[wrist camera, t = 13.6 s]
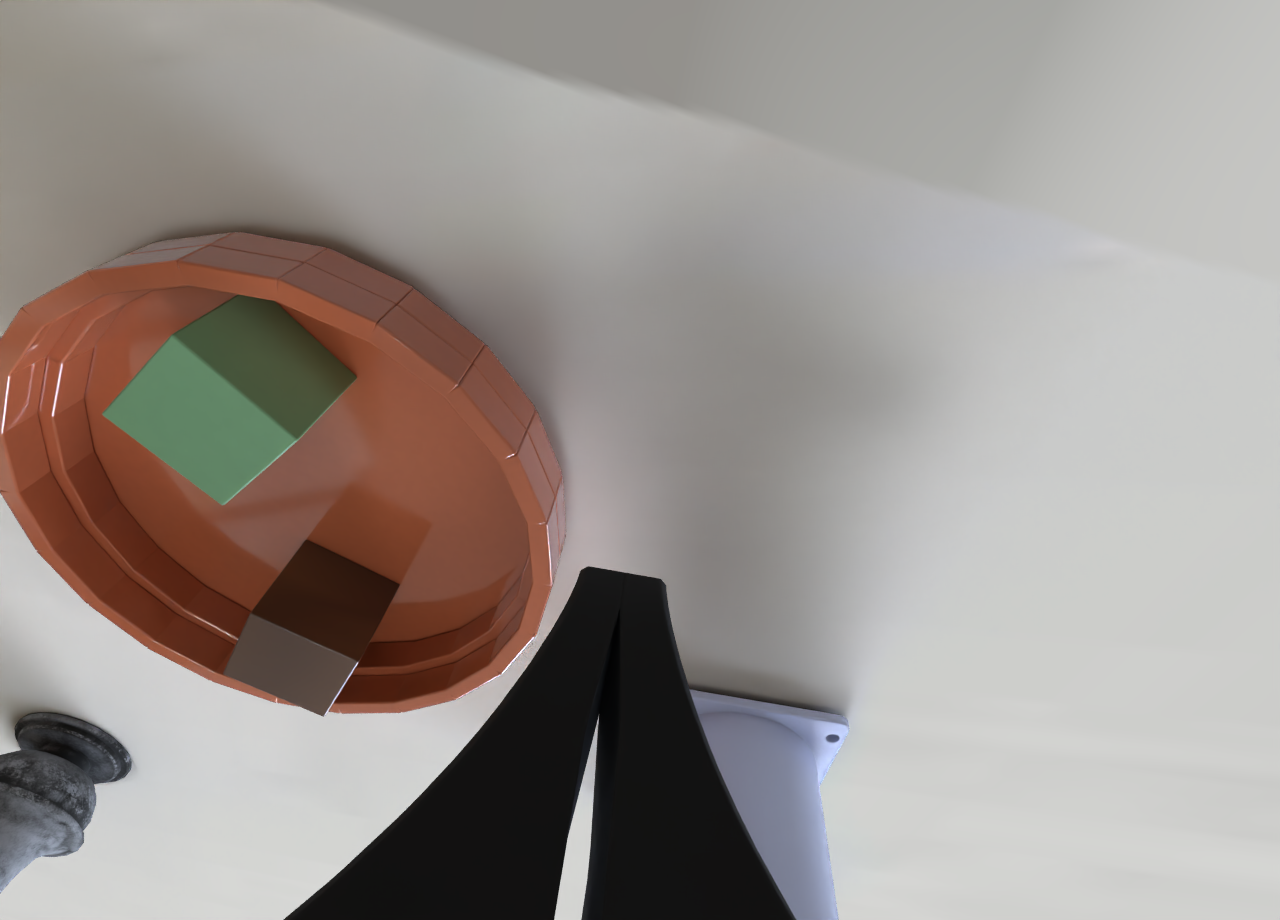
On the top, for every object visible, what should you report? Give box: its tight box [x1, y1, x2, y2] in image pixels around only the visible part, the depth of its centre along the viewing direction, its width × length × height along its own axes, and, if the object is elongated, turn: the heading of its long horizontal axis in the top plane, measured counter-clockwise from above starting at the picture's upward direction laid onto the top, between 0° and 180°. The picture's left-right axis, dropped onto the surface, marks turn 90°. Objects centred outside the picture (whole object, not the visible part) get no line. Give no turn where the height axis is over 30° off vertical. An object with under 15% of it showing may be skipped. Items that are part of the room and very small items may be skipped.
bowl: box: [0, 232, 566, 714], centre depth 21 cm, size 16×16×3 cm
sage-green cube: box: [102, 295, 357, 505], centre depth 18 cm, size 4×4×4 cm
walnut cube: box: [223, 540, 400, 716], centre depth 23 cm, size 4×4×4 cm
